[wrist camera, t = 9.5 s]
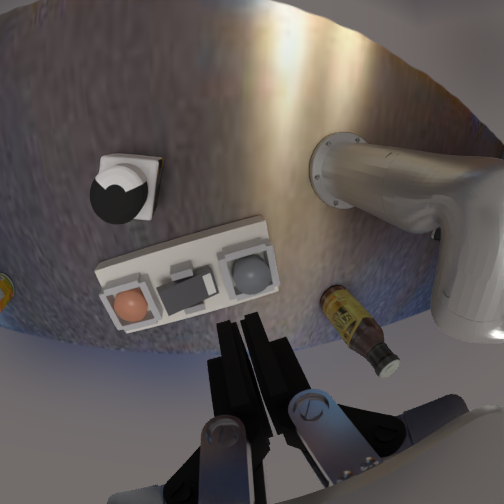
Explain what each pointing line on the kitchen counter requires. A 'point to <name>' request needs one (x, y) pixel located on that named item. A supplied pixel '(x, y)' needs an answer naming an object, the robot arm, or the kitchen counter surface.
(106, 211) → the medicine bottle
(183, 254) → the switch panel
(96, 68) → the kitchen counter surface
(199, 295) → the block
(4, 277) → the supplement bottle
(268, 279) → the slate button
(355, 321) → the sauce bottle
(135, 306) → the terracotta button
